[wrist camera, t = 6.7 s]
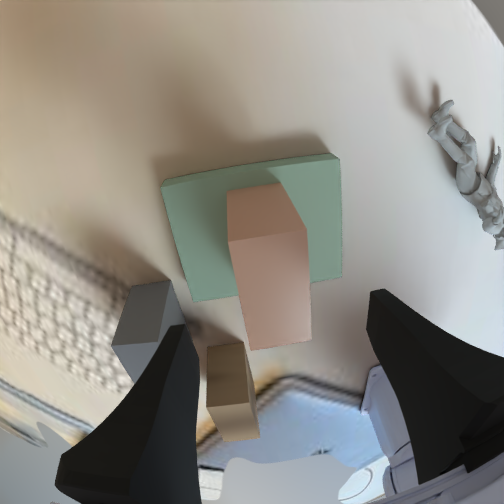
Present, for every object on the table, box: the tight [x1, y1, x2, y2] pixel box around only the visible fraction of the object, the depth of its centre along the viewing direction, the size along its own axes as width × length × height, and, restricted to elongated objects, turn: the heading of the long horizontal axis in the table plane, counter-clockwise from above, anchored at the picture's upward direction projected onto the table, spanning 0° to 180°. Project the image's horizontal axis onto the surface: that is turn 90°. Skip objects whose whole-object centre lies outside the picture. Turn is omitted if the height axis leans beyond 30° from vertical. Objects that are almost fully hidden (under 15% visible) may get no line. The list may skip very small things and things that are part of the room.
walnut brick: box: [206, 342, 260, 442], centre depth 24 cm, size 6×3×6 cm, turn 8°
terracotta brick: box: [227, 182, 312, 351], centre depth 16 cm, size 6×3×6 cm, turn 8°
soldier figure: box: [427, 100, 504, 250], centre depth 17 cm, size 8×5×12 cm
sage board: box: [160, 153, 342, 302], centre depth 19 cm, size 8×10×2 cm
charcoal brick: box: [111, 280, 193, 384], centre depth 20 cm, size 6×3×6 cm, turn 8°
